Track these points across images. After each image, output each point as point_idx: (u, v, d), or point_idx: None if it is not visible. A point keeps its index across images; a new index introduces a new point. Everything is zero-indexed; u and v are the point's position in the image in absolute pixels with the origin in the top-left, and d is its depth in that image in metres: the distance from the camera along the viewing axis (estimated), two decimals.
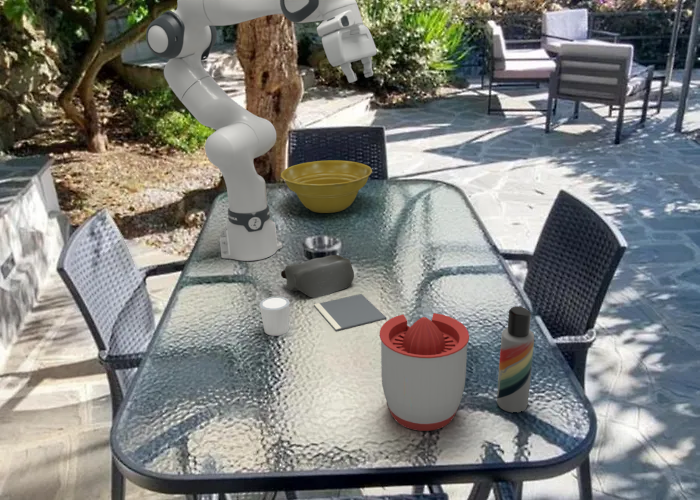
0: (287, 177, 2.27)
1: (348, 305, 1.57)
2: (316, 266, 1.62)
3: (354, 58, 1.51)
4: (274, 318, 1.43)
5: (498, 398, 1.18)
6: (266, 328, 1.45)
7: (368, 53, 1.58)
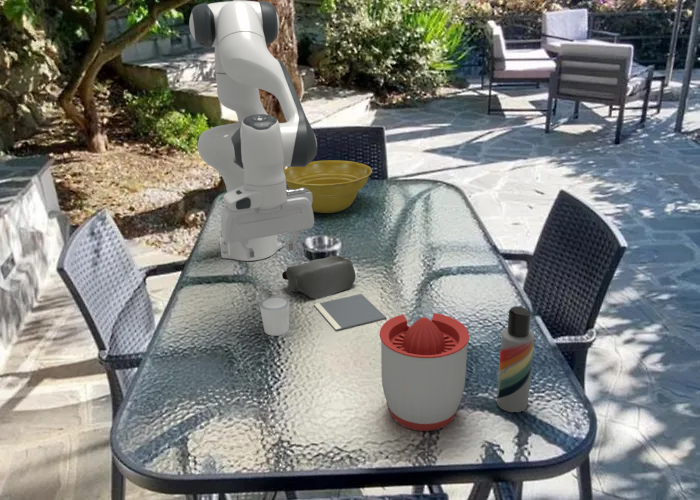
0: (287, 177, 2.27)
1: (348, 305, 1.57)
2: (318, 267, 1.62)
3: (254, 237, 1.36)
4: (274, 318, 1.43)
5: (498, 398, 1.18)
6: (266, 328, 1.45)
7: (290, 230, 1.39)
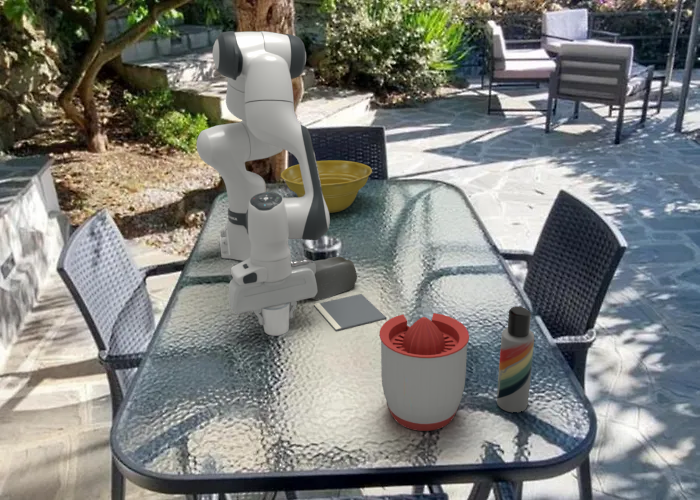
0: (287, 177, 2.27)
1: (348, 305, 1.57)
2: (319, 268, 1.61)
3: (260, 308, 1.42)
4: (274, 318, 1.43)
5: (498, 398, 1.18)
6: (266, 328, 1.45)
7: (294, 299, 1.45)
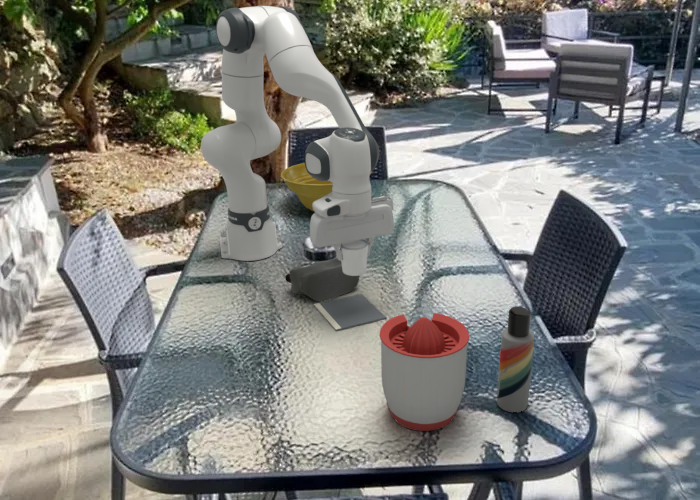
0: (287, 177, 2.27)
1: (348, 305, 1.57)
2: (322, 269, 1.60)
3: (341, 242, 1.45)
4: (355, 258, 1.46)
5: (498, 398, 1.18)
6: (345, 268, 1.48)
7: (373, 235, 1.48)
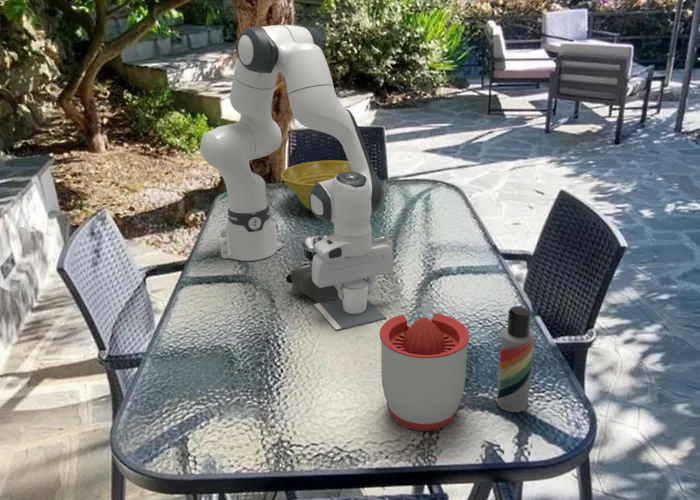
0: (287, 177, 2.27)
1: None
2: None
3: (342, 282, 1.49)
4: (355, 297, 1.50)
5: (498, 398, 1.18)
6: (346, 307, 1.52)
7: (373, 274, 1.52)
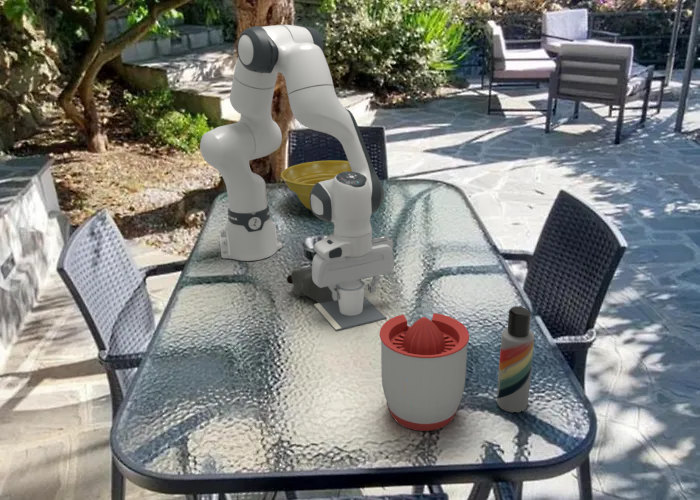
0: (287, 177, 2.27)
1: None
2: None
3: (342, 282, 1.49)
4: (352, 298, 1.50)
5: (498, 398, 1.18)
6: (343, 309, 1.52)
7: (373, 274, 1.52)
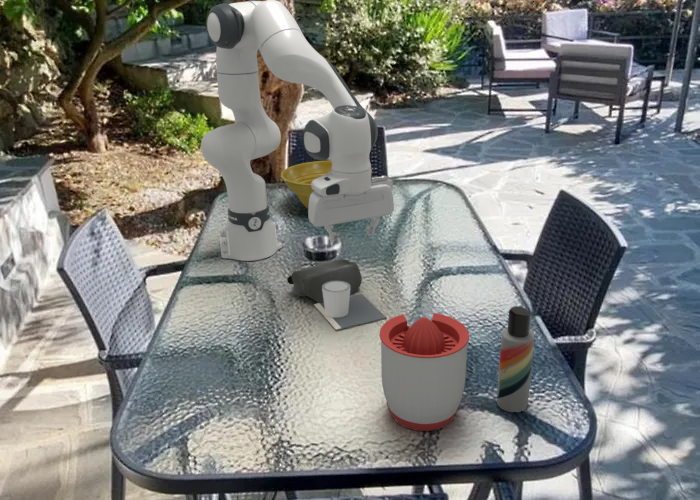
0: (287, 177, 2.27)
1: None
2: (324, 271, 1.59)
3: (339, 222, 1.43)
4: (337, 300, 1.49)
5: (498, 398, 1.18)
6: (328, 310, 1.51)
7: (372, 215, 1.46)
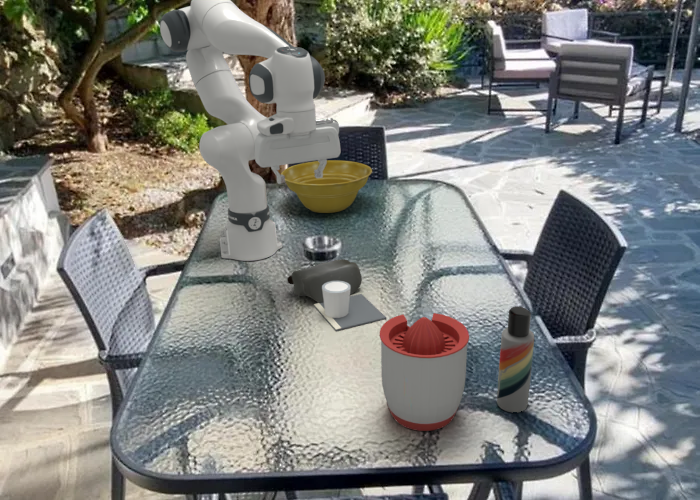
0: (287, 177, 2.27)
1: None
2: (324, 271, 1.59)
3: (285, 163, 1.46)
4: (337, 301, 1.49)
5: (498, 398, 1.18)
6: (328, 310, 1.51)
7: (319, 157, 1.48)
